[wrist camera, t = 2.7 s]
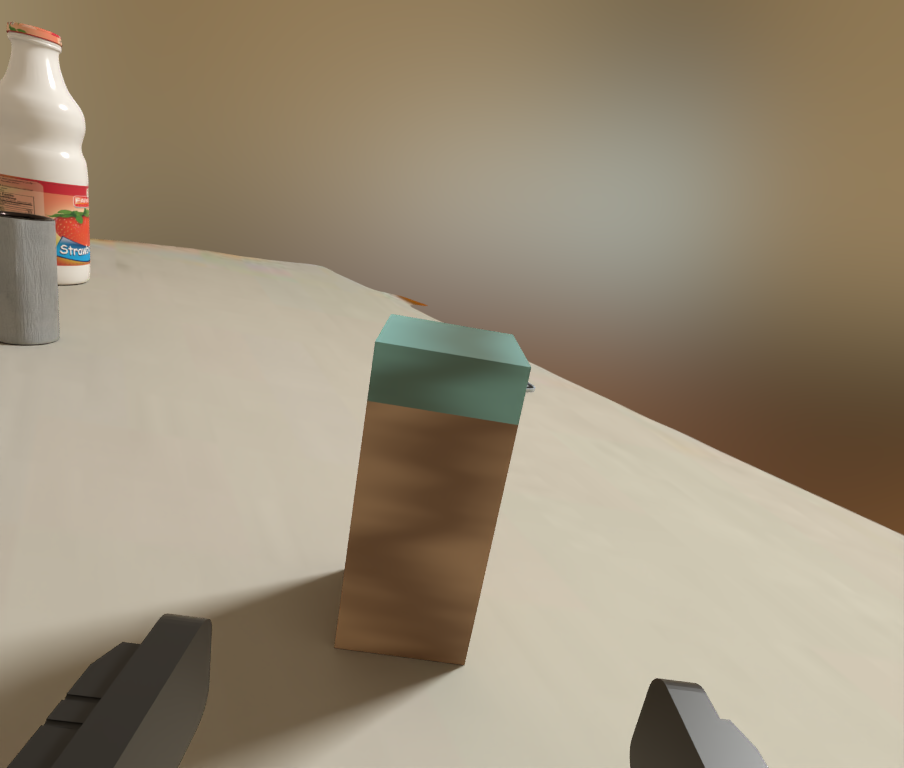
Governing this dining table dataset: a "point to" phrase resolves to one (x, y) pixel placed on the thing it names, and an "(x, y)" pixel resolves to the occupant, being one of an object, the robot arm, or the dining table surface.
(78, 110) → the white strawberry milk bottle
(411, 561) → the brown tall block
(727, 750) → the robot arm
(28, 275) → the planter
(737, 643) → the dining table surface
